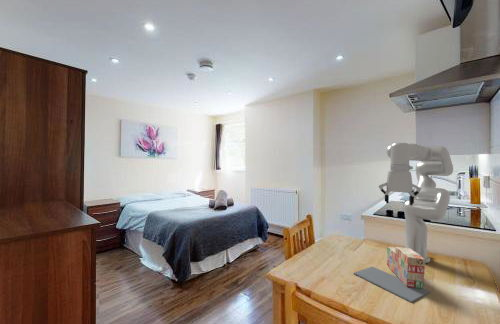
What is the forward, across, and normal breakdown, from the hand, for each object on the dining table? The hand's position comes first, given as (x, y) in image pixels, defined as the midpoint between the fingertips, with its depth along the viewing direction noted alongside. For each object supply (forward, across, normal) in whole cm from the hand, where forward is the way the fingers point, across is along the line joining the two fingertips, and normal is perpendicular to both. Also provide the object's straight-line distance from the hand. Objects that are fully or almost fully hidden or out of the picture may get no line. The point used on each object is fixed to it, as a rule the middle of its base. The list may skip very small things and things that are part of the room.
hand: (398, 204), depth 110 cm
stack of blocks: (+32, -1, +7) cm, 32 cm away
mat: (+32, +6, +16) cm, 36 cm away
